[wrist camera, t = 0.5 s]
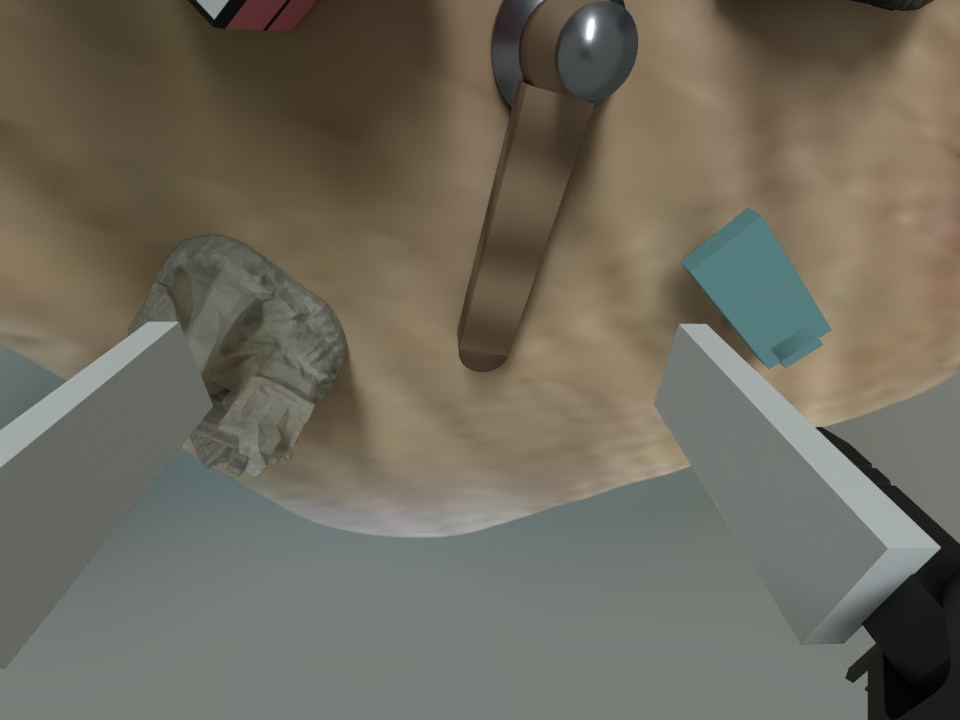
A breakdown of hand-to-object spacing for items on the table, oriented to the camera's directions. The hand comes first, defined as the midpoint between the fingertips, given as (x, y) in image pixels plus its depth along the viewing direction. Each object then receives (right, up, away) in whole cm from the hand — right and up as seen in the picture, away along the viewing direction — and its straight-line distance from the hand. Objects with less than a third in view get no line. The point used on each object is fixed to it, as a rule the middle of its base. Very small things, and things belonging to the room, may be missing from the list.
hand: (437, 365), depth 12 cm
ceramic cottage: (-19, +2, +24) cm, 31 cm away
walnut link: (+4, +11, +18) cm, 22 cm away
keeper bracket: (+21, +8, +24) cm, 33 cm away
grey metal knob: (+6, +19, +14) cm, 24 cm away
